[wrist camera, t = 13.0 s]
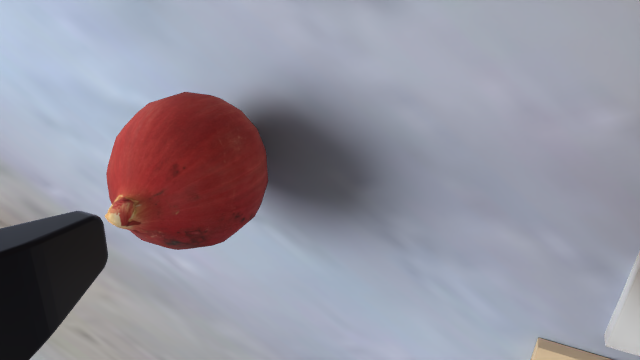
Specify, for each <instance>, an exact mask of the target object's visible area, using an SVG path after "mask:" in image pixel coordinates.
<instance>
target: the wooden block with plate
mask: <svg viewBox="0 0 640 360" xmlns="http://www.w3.org/2000/svg"><path fill="white" fill-rule="evenodd" d="M604 337H605V345H606V346H607V347H610V348H613V349H617V350H620V351H624V352H627V353H631V354H634V355H637V356H640V251H639V254H638V256H637V258H636V261H635V263H634V265H633V268H632V270H631V273H630V275H629V277H628V280H627V282H626V284H625V287H624V289H623V291H622V294H621V296H620V299H619V301H618V303H617V306H616V308H615V310H614V313H613V315H612V317H611V320H610V322H609V325H608V327H607V329H606V332H605V334H604Z"/></svg>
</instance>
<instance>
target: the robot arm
mask: <svg viewBox="0 0 640 360" xmlns="http://www.w3.org/2000/svg"><path fill="white" fill-rule="evenodd" d="M107 259H108V251H107V244H106V237H105V231H104V224H103V221H102V220H101V218H100V217H98V216H96V215H93V214H90V213H87V212H83V211H74V212H70V213H65V214H61V215H57V216H53V217H48V218H44V219H40V220H35V221H31V222H27V223H23V224H18V225H14V226H10V227H5V228H1V229H0V360H29V359H30V358H31V357H32V356H33V355H34V354H35V353H36V352H37V351H38V350H39V349H40V348H41V346H42V345H43V344H44V343H45V342H46V341H47V340H48V339H49V338H50V336H51V335H52V334H53V333H54V332H55V330H56V329H57V328H58V327H59V325H60V324H61V323H62V322H63V320H64V319H65V318H66V316H67V315H68V314H69V313H70V311H71V310H72V309H73V307H74V306H75V305H76V303H77V302H78V301H79V300H80V298H81V297H82V296H83V294H84V293H85V292H86V291H87V289H88V288H89V287H90V285H91V284H92V283H93V282H94V280H95V279H96V278H97V276H98V275H99V274H100V273H101V271H102V270H103V269H104V267H105V265H106V263H107Z"/></svg>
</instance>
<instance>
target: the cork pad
mask: <svg viewBox="0 0 640 360" xmlns="http://www.w3.org/2000/svg"><path fill="white" fill-rule="evenodd" d="M531 360H612V359H609V358H606V357H602V356H599V355H596V354H592V353H589V352H585V351H582V350H579V349H575V348H572V347H568V346H565V345H562V344H558V343H555V342H552V341H548V340H545V339H541V338H538V340H537V343H536V345H535V348H534V351H533V354H532V357H531Z"/></svg>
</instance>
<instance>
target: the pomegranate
mask: <svg viewBox="0 0 640 360" xmlns="http://www.w3.org/2000/svg"><path fill="white" fill-rule="evenodd" d="M267 183H268V173H267V157H266V150H265V147H264V145H263V142H262V140H261V137H260V135H259V132H258V130H257V128H256V127H255V126H254V125H253V124H252V122H251V121H250V120H249V119H248V118H247V117H246V116H245V114H244V113H243V112H242V111H241V110H239V109H237V108H236V107H234V106H232V105H231V104H229V103H227V102H226V101H224V100H222V99H220V98H217V97H214V96H211V95H205V94H197V93H189V92H183V93H180V94H177V95H173V96H170V97H167V98H164V99H161V100H158V101H154V102H151V103H149V104H147V105H146V106H145V107H144V108H142V109H141V110H140V111H139V112H138V113H137V114H136V115H135V116H134V117H133V118H132V119H131V120H130V121H129V122H128V123H127V124H126V125H125V126H124V128H123V129H122V130H121V132H120V133H119V134H118V136H117V137H116V140H115V143H114V146H113V149H112V153H111V157H110V160H109V164H108V169H107V184H108V190H109V197H110V200H111V203H112V205H111V207H110V208H109V210H108V213H107V214H106V215H105V217H106V219H107V220H108V221H109V222H110V223H111V224H113V225H115V226H117V227H119V228H122V229H127V230H130V231H131V232H132V233H133V234H135V235H136V236H137V237H138V238H140V239H141V240H143V241H146V242H149V243H153V244H156V245H160V246H163V247H166V248H171V249H177V250H179V249H190V248H197V247H205V246H212V245H215V244H218V243H221V242H224V241H225V240H226V239H228V238H229V237H230V236H232V235H233V234H234V233H236V232H237V231H238V230H239V229H240V228H242V227H243V226H244V225H245V224H246V223H248V222H249V221H250V220H251V219H252V218H253V217H254V216H255V215H256V213H257V211H258V209H259V207H260V205H261V202H262V199H263V196H264V193H265V190H266V186H267Z"/></svg>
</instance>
